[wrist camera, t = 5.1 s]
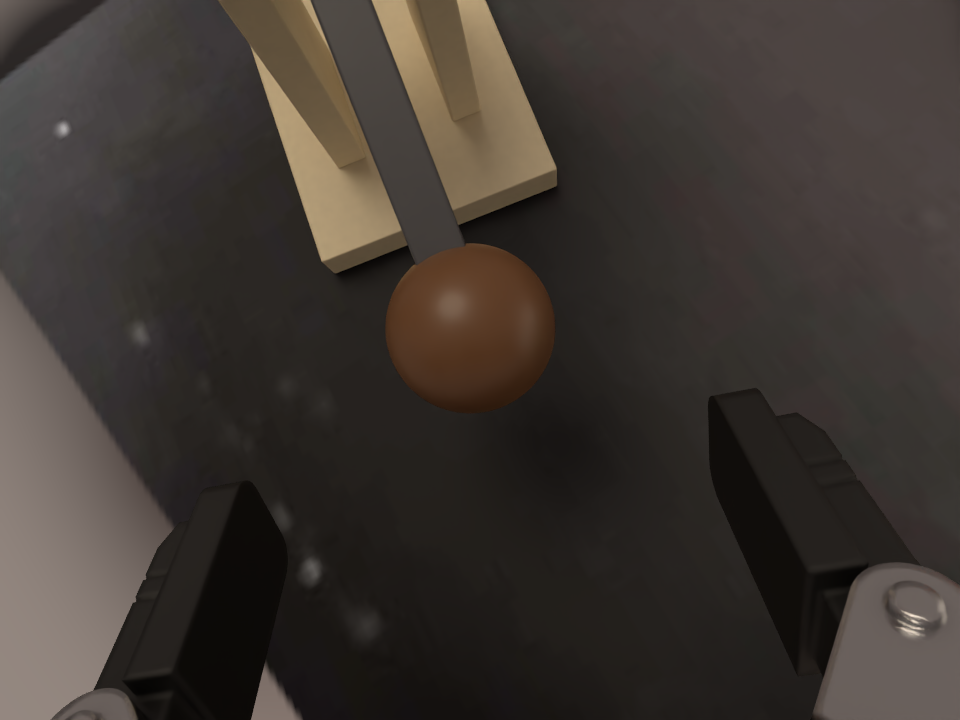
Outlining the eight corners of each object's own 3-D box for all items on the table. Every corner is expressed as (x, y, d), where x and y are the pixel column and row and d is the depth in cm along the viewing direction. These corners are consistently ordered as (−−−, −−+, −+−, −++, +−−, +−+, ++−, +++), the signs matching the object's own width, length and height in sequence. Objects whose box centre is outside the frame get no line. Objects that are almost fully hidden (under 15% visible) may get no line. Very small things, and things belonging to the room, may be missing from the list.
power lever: (567, 363, 16) (592, 392, 13) (429, 415, 17) (416, 459, 13) (338, -253, 14) (292, -421, 11) (183, -186, 15) (88, -329, 11)
